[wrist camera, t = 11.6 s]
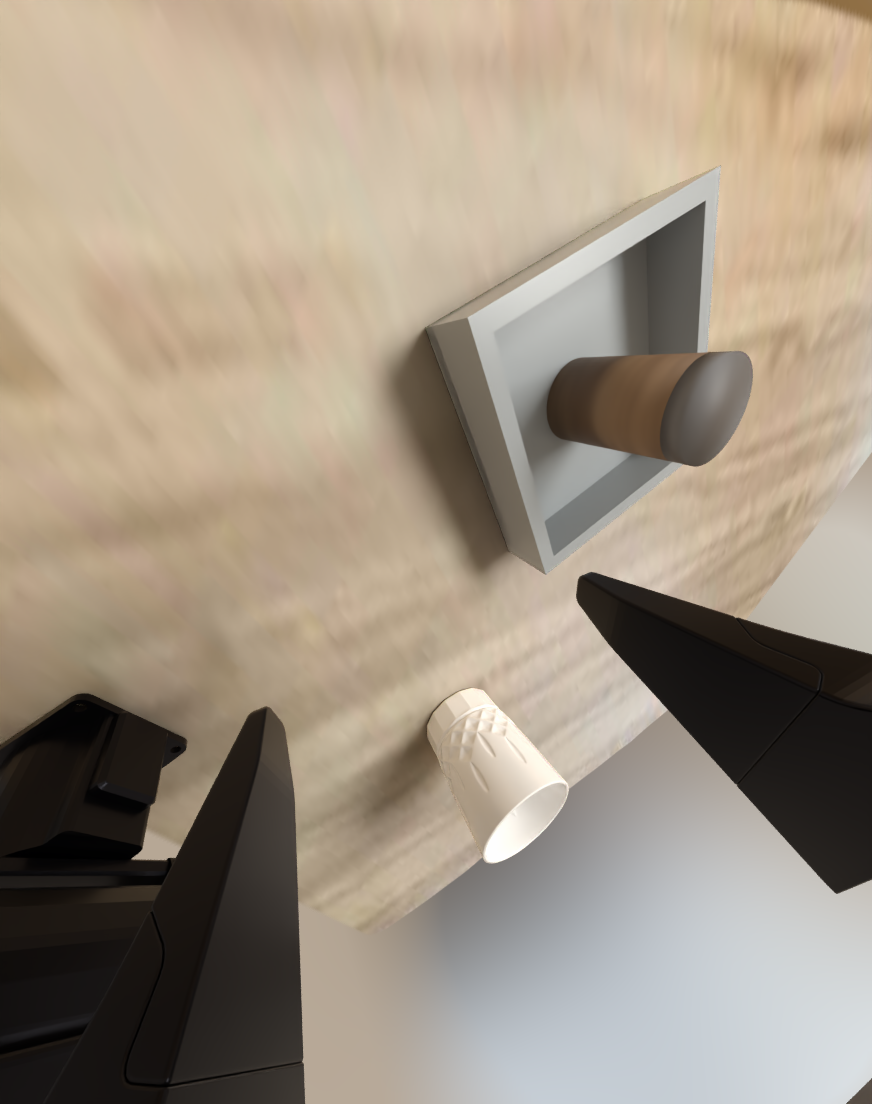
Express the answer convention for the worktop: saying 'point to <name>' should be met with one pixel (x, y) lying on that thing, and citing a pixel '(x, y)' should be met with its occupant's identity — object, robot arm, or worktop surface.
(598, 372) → the spice jar
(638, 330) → the bin
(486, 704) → the white cup
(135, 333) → the worktop surface
